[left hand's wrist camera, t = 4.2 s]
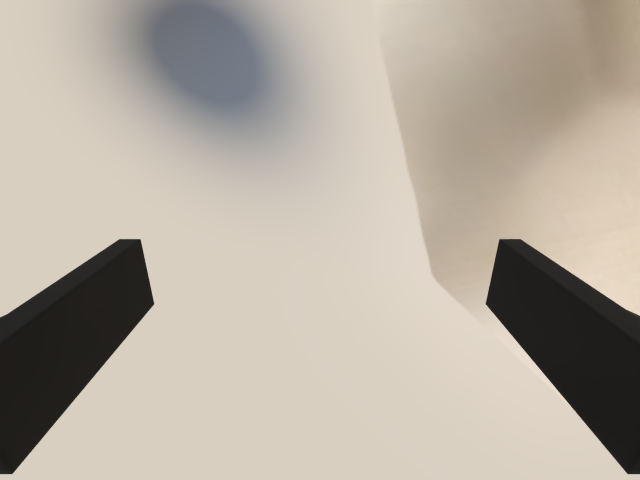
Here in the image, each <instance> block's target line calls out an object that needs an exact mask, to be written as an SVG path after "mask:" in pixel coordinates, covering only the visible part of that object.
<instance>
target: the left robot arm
mask: <svg viewBox="0 0 640 480" xmlns="http://www.w3.org/2000/svg"><path fill="white" fill-rule="evenodd" d="M153 305H154V301H153V296H152V291H151V287H150V282H149V277H148V273H147V268H146V263H145V258H144V254H143V249H142V244H141V240H140V239H119V240H118V241H116V242H115V243H113V244H112V245H110V246H109V247H107V248H106V249H104V250H103V251H101V252H100V253H98V254H97V255H95V256H94V257H92V258H91V259H89V260H88V261H86V262H85V263H83V264H82V265H80V266H79V267H77V268H76V269H74V270H73V271H71V272H70V273H68V274H67V275H65V276H64V277H62V278H61V279H59V280H58V281H56V282H55V283H53V284H52V285H50V286H49V287H47V288H46V289H44V290H43V291H41V292H40V293H38V294H37V295H35V296H34V297H32V298H31V299H29V300H28V301H26V302H25V303H23V304H22V305H20V306H19V307H17V308H16V309H14V310H13V311H11V312H10V313H8V314H7V315H5V316H2V317H0V474H13V473H14V471H15V470H16V469H17V468H18V467H19V465H20V464H21V463H22V462H23V461H24V459H25V458H26V457H27V456H28V455H29V453H30V452H31V451H32V450H33V449H34V447H35V446H36V445H37V444H38V443H39V441H40V440H41V439H42V438H43V437H44V435H45V434H46V433H47V432H48V431H49V429H50V428H51V427H52V426H53V425H54V423H55V422H56V421H57V420H58V419H59V417H60V416H61V415H62V414H63V413H64V411H65V410H66V409H67V408H68V407H69V405H70V404H71V403H72V402H73V401H74V400H75V398H76V397H77V396H78V395H79V394H80V392H81V391H82V390H83V389H84V388H85V386H86V385H87V384H88V383H89V382H90V380H91V379H92V378H93V377H94V376H95V374H96V373H97V372H98V371H99V370H100V368H101V367H102V366H103V365H104V364H105V362H106V361H107V360H108V359H109V358H110V356H111V355H112V354H113V353H114V352H115V350H116V349H117V348H118V347H119V346H120V344H121V343H122V342H123V341H124V340H125V338H126V337H127V336H128V335H129V334H130V332H131V331H132V330H133V329H134V328H135V326H136V325H137V324H138V323H139V322H140V320H141V319H142V318H143V317H144V316H145V314H146V313H147V312H148V311H149V310H150V308H151V307H152V306H153ZM486 305H487V306H488V307H489V309H490V310H491V311H492V312H493V313H494V314H495V316H496V317H497V318H498V319H499V320H500V322H501V323H502V324H503V325H504V326H505V328H506V329H507V330H508V331H509V332H510V334H511V335H512V336H513V337H514V338H515V340H516V341H517V342H518V343H519V344H520V346H521V347H522V348H523V349H524V350H525V352H526V353H527V354H528V355H529V356H530V358H531V359H532V360H533V361H534V362H535V364H536V365H537V366H538V367H539V368H540V370H541V371H542V372H543V373H544V374H545V376H546V377H547V378H548V379H549V380H550V382H551V383H552V384H553V385H554V386H555V388H556V389H557V390H558V391H559V392H560V394H561V395H562V396H563V397H564V398H565V400H566V401H567V402H568V403H569V404H570V405H571V407H572V408H573V409H574V410H575V411H576V413H577V414H578V415H579V416H580V417H581V419H582V420H583V421H584V422H585V423H586V425H587V426H588V427H589V428H590V429H591V431H592V432H593V433H594V434H595V435H596V437H597V438H598V439H599V440H600V441H601V443H602V444H603V445H604V446H605V447H606V449H607V450H608V451H609V452H610V453H611V455H612V456H613V457H614V458H615V459H616V461H617V462H618V463H619V464H620V465H621V467H622V468H623V469H624V470H625V471H626V473H627V474H640V316H639V315H637V314H634V313H632V312H630V311H628V310H626V309H624V308H623V307H621V306H620V305H618V304H617V303H615V302H614V301H612V300H611V299H609V298H608V297H606V296H605V295H603V294H602V293H600V292H599V291H597V290H596V289H594V288H593V287H591V286H590V285H588V284H587V283H585V282H584V281H582V280H581V279H579V278H578V277H576V276H575V275H573V274H572V273H570V272H569V271H567V270H566V269H564V268H563V267H561V266H560V265H558V264H557V263H555V262H554V261H552V260H551V259H549V258H548V257H546V256H545V255H543V254H542V253H540V252H539V251H537V250H536V249H534V248H533V247H531V246H530V245H528V244H527V243H525V242H524V241H522V240H521V239H499V244H498V249H497V253H496V258H495V263H494V268H493V272H492V277H491V282H490V287H489V291H488V296H487V301H486Z"/></svg>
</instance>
